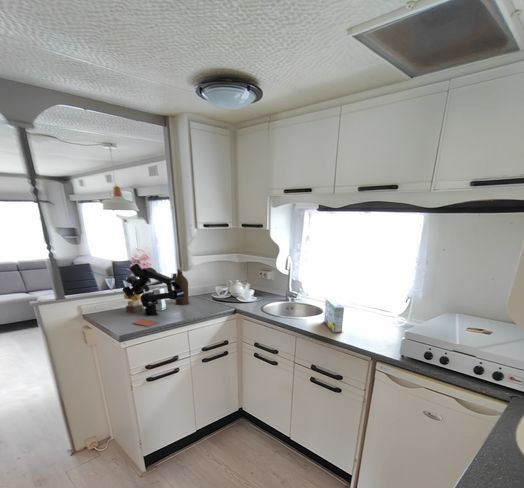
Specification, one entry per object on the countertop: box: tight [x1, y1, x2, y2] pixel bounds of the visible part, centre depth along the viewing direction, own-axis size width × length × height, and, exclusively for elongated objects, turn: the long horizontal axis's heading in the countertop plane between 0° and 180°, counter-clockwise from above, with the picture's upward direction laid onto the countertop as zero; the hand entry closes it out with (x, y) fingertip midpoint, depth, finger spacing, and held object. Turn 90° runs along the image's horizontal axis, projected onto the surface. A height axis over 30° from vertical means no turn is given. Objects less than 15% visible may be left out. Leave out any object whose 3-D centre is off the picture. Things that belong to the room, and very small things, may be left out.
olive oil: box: [173, 268, 190, 306], centre depth 238 cm, size 11×11×25 cm
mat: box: [133, 319, 157, 327], centre depth 197 cm, size 11×8×1 cm
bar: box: [123, 293, 142, 301], centre depth 218 cm, size 11×4×3 cm, turn 64°
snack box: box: [323, 298, 345, 333], centre depth 193 cm, size 21×6×15 cm, turn 5°
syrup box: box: [152, 287, 167, 311], centre depth 224 cm, size 6×6×14 cm
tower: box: [125, 300, 143, 314], centre depth 220 cm, size 7×7×7 cm
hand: (131, 297), depth 219 cm, fingers closed on bar, 4 cm apart
